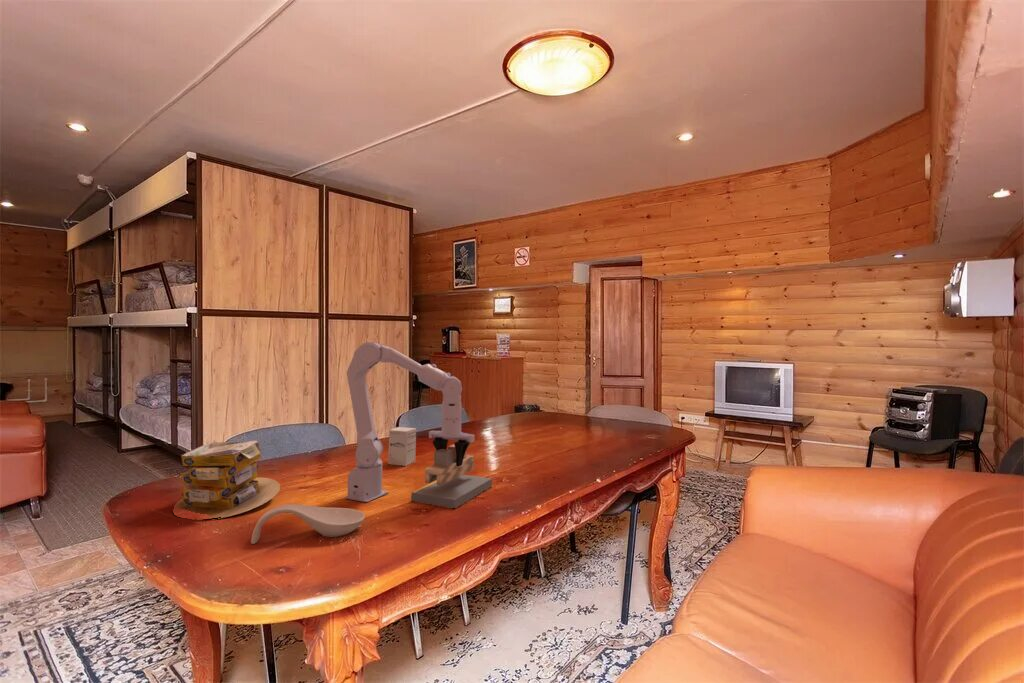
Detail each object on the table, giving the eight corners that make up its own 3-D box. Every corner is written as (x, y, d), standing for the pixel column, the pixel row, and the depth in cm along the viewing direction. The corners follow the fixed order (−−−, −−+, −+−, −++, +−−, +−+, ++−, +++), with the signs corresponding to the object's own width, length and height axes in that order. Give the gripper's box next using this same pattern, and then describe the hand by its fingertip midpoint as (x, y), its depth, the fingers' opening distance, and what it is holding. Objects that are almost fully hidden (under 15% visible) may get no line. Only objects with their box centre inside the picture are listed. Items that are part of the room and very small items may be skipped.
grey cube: (446, 467, 134) (446, 453, 134) (433, 465, 135) (434, 451, 135) (453, 464, 137) (453, 450, 137) (441, 462, 139) (441, 448, 139)
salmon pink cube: (459, 461, 141) (459, 447, 141) (448, 459, 142) (448, 446, 142) (466, 458, 144) (466, 445, 144) (454, 456, 146) (455, 443, 146)
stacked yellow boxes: (218, 527, 113) (219, 456, 113) (149, 512, 122) (150, 447, 122) (299, 496, 136) (300, 437, 136) (236, 485, 145) (237, 431, 145)
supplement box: (387, 464, 171) (388, 429, 171) (398, 460, 178) (398, 426, 178) (406, 466, 169) (406, 431, 169) (416, 461, 176) (416, 427, 176)
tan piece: (440, 485, 130) (440, 470, 130) (425, 482, 132) (425, 468, 132) (473, 468, 148) (474, 456, 148) (459, 467, 150) (459, 454, 150)
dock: (454, 509, 127) (454, 499, 127) (411, 501, 132) (411, 491, 132) (491, 486, 147) (491, 478, 147) (452, 480, 152) (452, 472, 152)
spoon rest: (362, 520, 119) (363, 491, 119) (366, 538, 108) (366, 506, 108) (255, 532, 110) (256, 501, 110) (247, 554, 99) (248, 519, 99)
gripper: (479, 418, 141) (479, 464, 141) (438, 414, 147) (437, 458, 147) (468, 421, 134) (467, 469, 134) (424, 417, 140) (424, 463, 140)
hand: (451, 464), depth 140 cm, fingers closed on tan piece, 5 cm apart
